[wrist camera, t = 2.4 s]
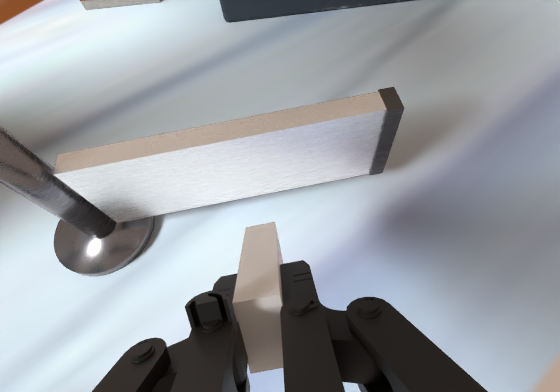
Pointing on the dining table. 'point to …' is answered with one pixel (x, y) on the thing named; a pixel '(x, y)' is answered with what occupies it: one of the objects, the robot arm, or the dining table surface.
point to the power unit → (286, 7)
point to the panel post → (72, 214)
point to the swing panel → (236, 157)
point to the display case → (113, 3)
